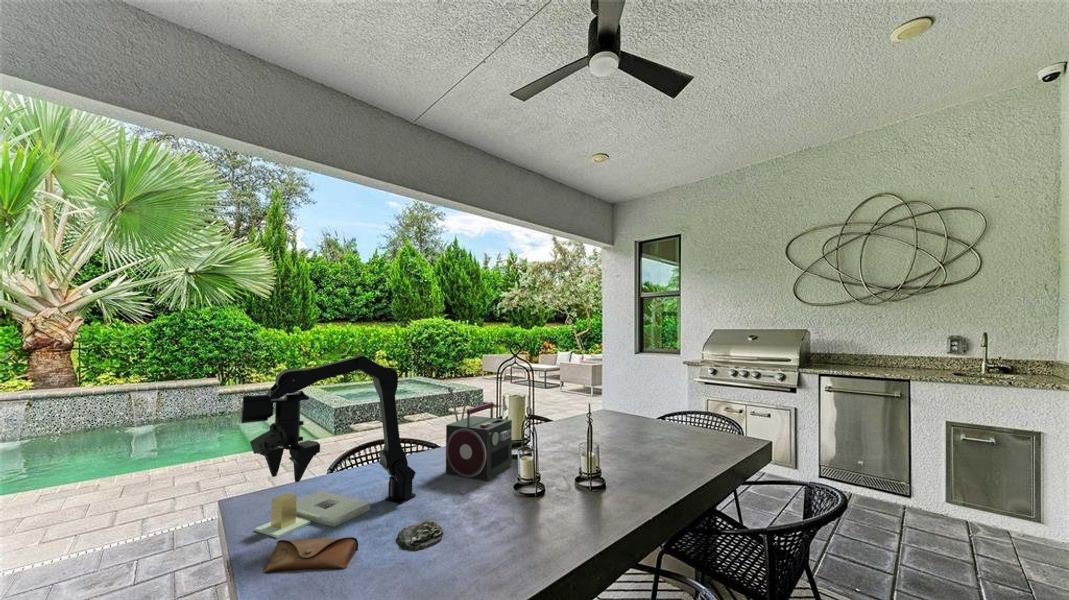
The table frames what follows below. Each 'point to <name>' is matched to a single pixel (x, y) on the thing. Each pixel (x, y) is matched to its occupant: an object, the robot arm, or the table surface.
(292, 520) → the brass peg
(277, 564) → the sunglasses case
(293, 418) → the robot arm
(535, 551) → the table surface
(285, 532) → the sage mat
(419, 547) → the mossy grey rock
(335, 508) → the aluminium plate
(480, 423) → the boombox
